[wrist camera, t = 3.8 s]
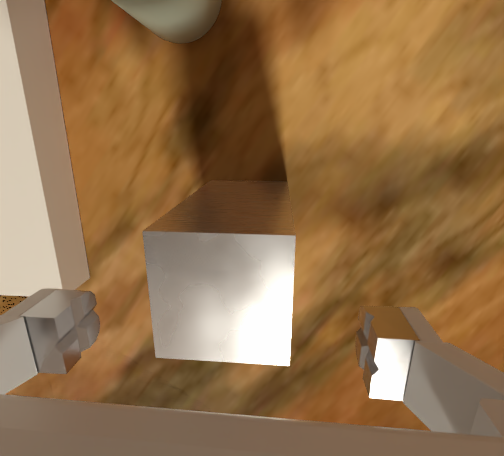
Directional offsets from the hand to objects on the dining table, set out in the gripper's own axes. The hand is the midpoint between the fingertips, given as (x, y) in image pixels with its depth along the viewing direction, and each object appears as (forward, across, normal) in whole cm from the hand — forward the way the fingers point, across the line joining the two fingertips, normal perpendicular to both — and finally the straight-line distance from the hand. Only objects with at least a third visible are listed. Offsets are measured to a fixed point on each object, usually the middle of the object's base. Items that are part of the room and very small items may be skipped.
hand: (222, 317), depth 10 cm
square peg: (+12, 0, 0) cm, 12 cm away
